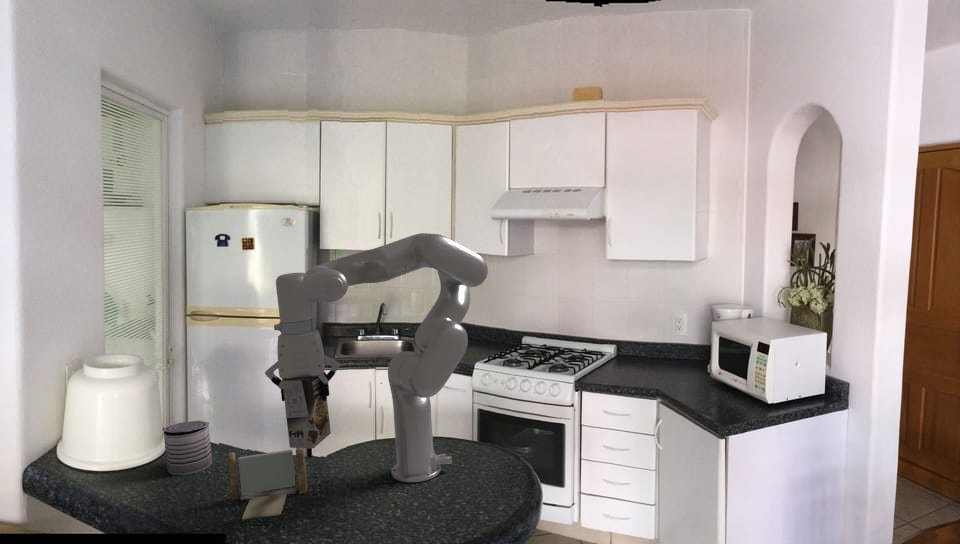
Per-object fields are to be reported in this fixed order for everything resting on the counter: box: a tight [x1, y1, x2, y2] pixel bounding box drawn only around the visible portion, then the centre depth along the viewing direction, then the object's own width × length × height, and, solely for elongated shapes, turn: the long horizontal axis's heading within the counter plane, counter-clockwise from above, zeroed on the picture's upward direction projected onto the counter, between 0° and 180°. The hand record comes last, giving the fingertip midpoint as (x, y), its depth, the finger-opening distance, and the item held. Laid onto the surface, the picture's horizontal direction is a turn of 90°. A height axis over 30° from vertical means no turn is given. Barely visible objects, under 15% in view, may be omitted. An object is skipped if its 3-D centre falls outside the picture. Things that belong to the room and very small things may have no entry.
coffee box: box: [281, 376, 331, 449], centre depth 148 cm, size 9×6×16 cm
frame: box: [227, 448, 308, 501], centre depth 156 cm, size 18×3×11 cm, turn 99°
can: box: [161, 420, 213, 476], centre depth 176 cm, size 11×11×12 cm
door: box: [237, 448, 296, 495], centre depth 157 cm, size 12×1×9 cm, turn 105°
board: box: [241, 494, 288, 521], centre depth 150 cm, size 8×10×1 cm
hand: (306, 401), depth 148 cm, fingers closed on coffee box, 7 cm apart
